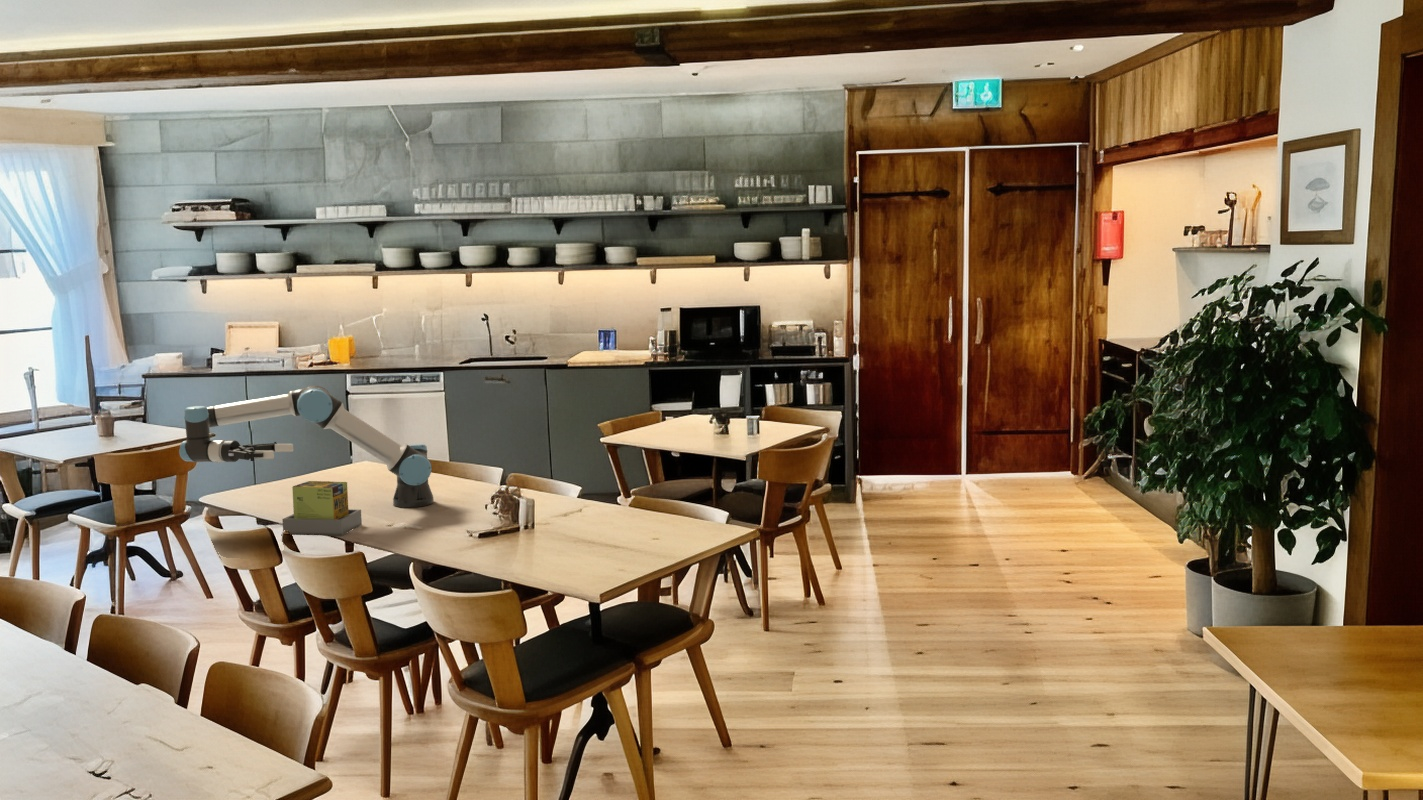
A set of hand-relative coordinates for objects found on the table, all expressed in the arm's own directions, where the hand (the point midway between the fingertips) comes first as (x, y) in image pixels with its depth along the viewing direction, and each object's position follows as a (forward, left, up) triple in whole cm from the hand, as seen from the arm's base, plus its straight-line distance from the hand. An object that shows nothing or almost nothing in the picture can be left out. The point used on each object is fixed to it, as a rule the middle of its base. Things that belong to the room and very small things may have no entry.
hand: (283, 451), depth 375 cm
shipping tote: (-13, 0, -28) cm, 31 cm away
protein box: (-13, 0, -27) cm, 30 cm away
